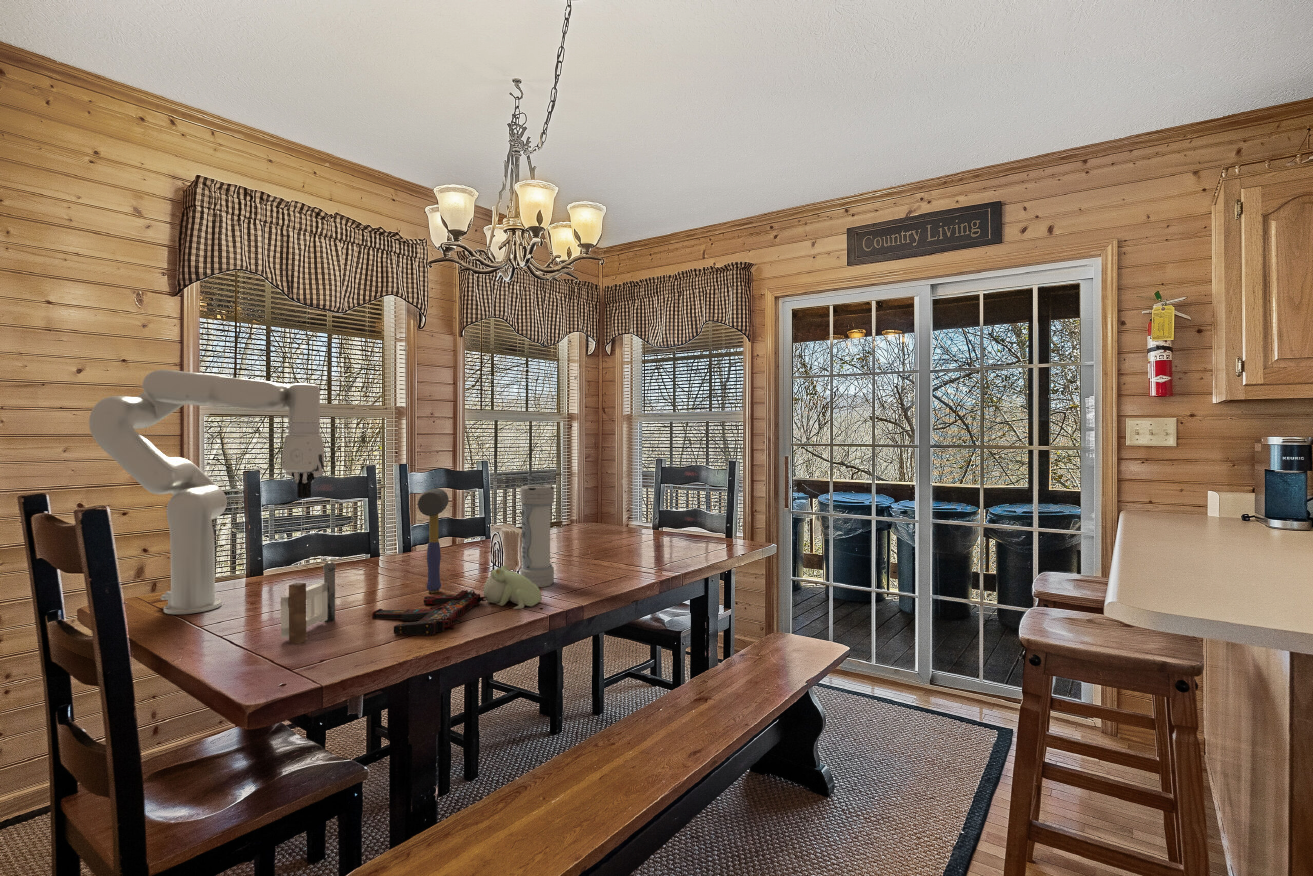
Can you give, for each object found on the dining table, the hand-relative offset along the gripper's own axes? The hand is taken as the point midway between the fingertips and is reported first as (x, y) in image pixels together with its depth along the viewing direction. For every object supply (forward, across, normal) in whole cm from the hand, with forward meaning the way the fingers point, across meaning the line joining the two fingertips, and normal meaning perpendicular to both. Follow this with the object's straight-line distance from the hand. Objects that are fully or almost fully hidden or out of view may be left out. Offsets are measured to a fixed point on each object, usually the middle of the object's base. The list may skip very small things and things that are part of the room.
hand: (304, 497), depth 180 cm
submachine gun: (+29, +38, -2) cm, 48 cm away
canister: (+29, +53, +35) cm, 70 cm away
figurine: (+29, +55, +13) cm, 63 cm away
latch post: (+29, +22, -28) cm, 46 cm away
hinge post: (+29, +18, -12) cm, 36 cm away
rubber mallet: (+29, +28, +19) cm, 44 cm away
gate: (+28, +19, -22) cm, 40 cm away
